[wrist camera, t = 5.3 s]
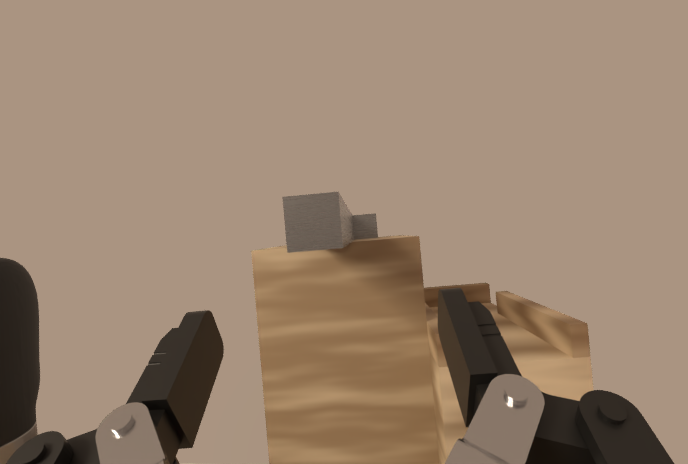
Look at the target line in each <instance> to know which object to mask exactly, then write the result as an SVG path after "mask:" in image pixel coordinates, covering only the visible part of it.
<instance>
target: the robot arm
mask: <svg viewBox="0 0 688 464" xmlns="http://www.w3.org/2000/svg"><path fill="white" fill-rule="evenodd" d="M438 332H439V338H440V342H441V345H442V349H443V352H444V355H445V359H446V362H447V365H448V369H449V372H450V376H451V379H452V382H453V386H454V389H455V393H456V396H457V399H458V403H459V406H460V410H461V413H462V416H463V420H464V423H465V426H466V427H468V430H467V432H466V434H465V436H464V437H463V438H462V439H460V438H459V439H458V440H457V441H456V443H455V444H454V446H453V448H452V450H451V452H450V454H449V456H448V458H447V460H446V462H445V464H674V463H673V461H672V460H671V458H670V457H669V455H668V454H667V452H666V451H665V449H664V447H663V446H662V445H661V443H660V441H659V440H658V438H657V437H656V435H655V434H654V432H653V431H652V429H651V428H650V426H649V425H648V423H647V422H646V420H645V419H644V417H643V416H642V414H641V413H640V412H639V410H638V409H637V408H636V407H635V406H634V405H633V404H632V403H630V402H629V401H628V400H626V399H625V398H623V397H621V396H619V395H617V394H614V393H612V392H608V391H603V390H594V391H589V392H587V393H585V394H584V395H583V396H582V397H581V399H580V401H577V400H572V399H567V398H563V397H558V396H553V395H549V394H546V393H544V392H541V391H540V389H539V388H538V387H537V386H536V385H535V384H534V383H533V382H531V381H530V380H528V379H526V378H524V377H522V375H521V373H520V372H519V370H518V367H517V365H516V363H515V361H514V359H513V357H512V355H511V353H510V351H509V349H508V347H507V345H506V343H505V341H504V339H503V337H502V336H501V333H500V331H499V328H498V326H496V322H495V320H494V318H493V316H492V314H491V312H490V311H489V310H488V309H487V308H486V307H485V306H484V305H482V304H481V303H480V302H479V301H476V302H467V299H466V297H465V295H464V292H463V290H462V289H461V288H450V289H439V291H438ZM222 358H223V342H222V338H221V336H220V333H219V331H218V328H217V325H216V323H215V320H214V317H213V315H212V313H211V312H210V311H196V312H188V313H186V315H185V316H184V318H183V320H182V322H181V324H180V326H179V328H172V329H171V330H170V331H169V332H168V333H167V334H166V335H165V337H163V338H162V339H161V341H160V342H159V344H158V346H157V348H156V350H155V352H154V355H152V357H151V359H150V361H149V364H148V366H146V368H145V370H144V372H143V374H142V376H141V377H140V379H139V381H138V383H137V385H136V387H135V388H134V390H133V392H132V394H131V396H130V398H129V399H128V401H127V403H126V404H125V405H123V406H121V407H119V408H117V409H116V410H114V411H113V412H111V413H110V414H109V415H108V416H107V417H106V418H105V419H104V420H103V421H102V422H101V424H100V425H99V427H98V429H96V430H93V431H91V432H88V433H85V434H82V435H79V436H76V437H74V438H71V439H69V440H66V439H65V438H64V437H63V435H62V434H61V433H59V432H54V431H52V432H51V431H50V432H45V433H42V434H40V435H37V424H36V409H35V408H36V400H37V395H38V390H39V383H40V364H39V310H38V299H37V293H36V289H35V286H34V283H33V280H32V278H31V276H30V275H29V273H28V272H27V270H26V269H25V268H24V267H23V266H22V265H20V264H19V263H17V262H16V261H13V260H10V259H6V258H0V464H179V461H178V460H177V458H176V454H177V452H178V449H181V448H192V447H193V444H194V441H195V438H196V435H197V432H198V429H199V426H200V423H201V420H202V417H203V414H204V412H205V408H206V406H207V403H208V400H209V397H210V393H211V391H212V388H213V385H214V382H215V379H216V376H217V373H218V370H219V367H220V364H221V361H222Z"/></svg>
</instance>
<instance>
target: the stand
mask: <svg viewBox="0 0 688 464" xmlns="http://www.w3.org/2000/svg"><path fill="white" fill-rule="evenodd" d="M251 252H252V264H253V275H254V286H255V299H256V310H257V322H258V333H259V345H260V357H261V368H262V381H263V393H264V404H265V416H266V428H267V439H268V451H269V463H270V464H445V462H446V460H447V458H448V456H449V454H450V452H451V450H452V448H453V446H454V444H455V443H456V441H457V440H458V439H459V438H460V439H462V438H463V437H464V436H465V434H466V432H467V430H468V427H466V426H465V423H464V420H463V416H462V413H461V410H460V406H459V403H458V399H457V396H456V393H455V389H454V386H453V382H452V379H451V376H450V372H449V369H448V365H447V362H446V359H445V355H444V352H443V349H442V345H441V342H440V338H439V332H438V291H439V289H450V288H461V289H462V290H463V292H464V295H465V297H466V299H467V302H476V301H479V302H480V303H481V304H482V305H484V306H485V307H486V308H487V309H488V310H489V311H490V312H491V314H492V316H493V318H494V320H495V322H496V326H498V328H499V331H500V333H501V336H502V337H503V339H504V341H505V343H506V345H507V347H508V349H509V351H510V353H511V355H512V357H513V359H514V361H515V363H516V365H517V367H518V370H519V372H520V373H521V375H522V377H524V378H526V379H528V380H530V381H531V382H533V383H534V384H535V385H536V386H537V387H538V388H539V389H540V391H541V392H544V393H546V394H549V395H553V396H558V397H563V398H567V399H572V400H577V401H580V399H581V397H582V396H583V395H584V394H585V393H587V392H589V391H594V390H593V380H592V369H591V359H590V347H589V336H588V327H587V323H585V322H582V321H580V320H577V319H575V318H572V317H570V316H567V315H565V314H562V313H560V312H557V311H555V310H552V309H550V308H547V307H545V306H542V305H540V304H538V303H535V302H533V301H530V300H528V299H525V298H523V297H520V296H518V295H515V294H513V293H510V292H508V291H501V292H496V301H497V306H496V305H494V304H492V303H491V300H490V289H489V284H488V283H478V284H466V285H454V286H440V287H428V288H424V286H423V274H422V264H421V252H420V241H419V236H402V235H399V236H387V237H378V238H369V239H357V240H354V241H352V242H351V243H350V244H348V245H347V246H345V247H344V248H339V249H327V250H315V251H304V252H292V253H287V245H286V246H279V247H273V248H267V249H260V250H254V251H251Z"/></svg>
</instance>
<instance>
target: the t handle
mask: <svg viewBox="0 0 688 464" xmlns="http://www.w3.org/2000/svg"><path fill="white" fill-rule="evenodd" d="M283 207H284V219H285V230H286V242H287V253H292V252H304V251H315V250H327V249H339V248H344V247H345V246H347V245H348V244H350V243H351V242H352V241H354V240H357V239H369V238H378V234H377V222H376V214H365V215H354V216H352V214H351V212H350V210H349V209H348V207H347V205H346V204H345V202H344V200H343V199H342V197H341V196H340V194H339V192H332V193H321V194H310V195H299V196H288V197H283Z"/></svg>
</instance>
